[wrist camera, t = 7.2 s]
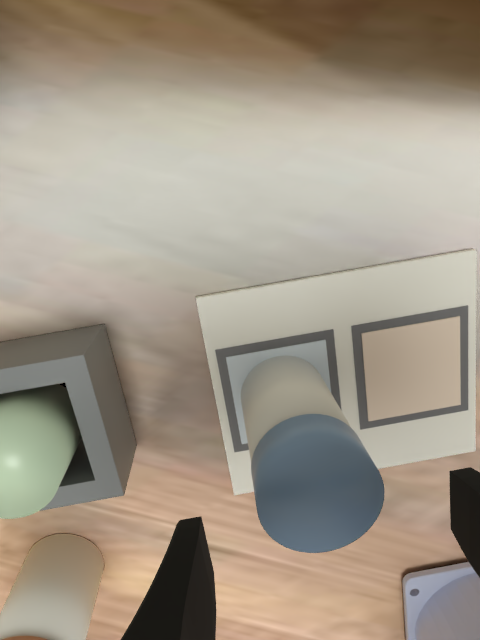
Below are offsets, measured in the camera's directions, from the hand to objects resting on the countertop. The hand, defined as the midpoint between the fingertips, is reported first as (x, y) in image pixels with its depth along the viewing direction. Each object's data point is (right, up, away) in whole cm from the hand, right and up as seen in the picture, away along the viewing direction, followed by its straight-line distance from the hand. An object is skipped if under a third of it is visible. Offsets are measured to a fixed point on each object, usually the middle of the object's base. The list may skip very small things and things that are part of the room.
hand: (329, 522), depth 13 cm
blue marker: (-1, +2, +7) cm, 8 cm away
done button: (-11, +2, +5) cm, 12 cm away
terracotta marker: (-11, -7, +10) cm, 16 cm away
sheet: (+2, +3, +8) cm, 9 cm away
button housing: (-11, +2, +7) cm, 13 cm away
